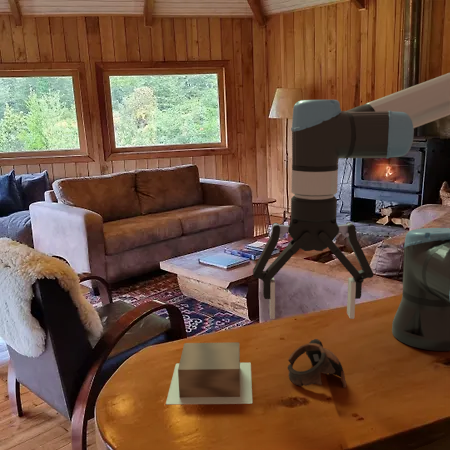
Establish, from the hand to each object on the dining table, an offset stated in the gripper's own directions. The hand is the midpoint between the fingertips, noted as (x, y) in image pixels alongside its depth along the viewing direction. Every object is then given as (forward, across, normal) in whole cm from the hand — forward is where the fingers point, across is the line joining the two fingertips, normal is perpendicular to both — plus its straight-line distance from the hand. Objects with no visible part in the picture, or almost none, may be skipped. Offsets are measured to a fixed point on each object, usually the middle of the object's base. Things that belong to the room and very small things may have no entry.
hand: (311, 316), depth 91 cm
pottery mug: (+12, -1, 0) cm, 13 cm away
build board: (+12, +18, +3) cm, 22 cm away
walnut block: (+11, +18, +3) cm, 21 cm away
